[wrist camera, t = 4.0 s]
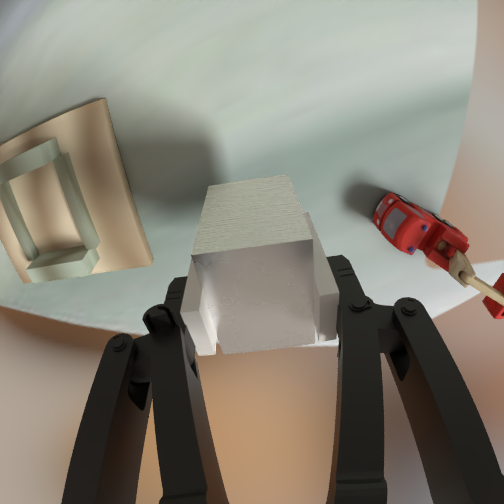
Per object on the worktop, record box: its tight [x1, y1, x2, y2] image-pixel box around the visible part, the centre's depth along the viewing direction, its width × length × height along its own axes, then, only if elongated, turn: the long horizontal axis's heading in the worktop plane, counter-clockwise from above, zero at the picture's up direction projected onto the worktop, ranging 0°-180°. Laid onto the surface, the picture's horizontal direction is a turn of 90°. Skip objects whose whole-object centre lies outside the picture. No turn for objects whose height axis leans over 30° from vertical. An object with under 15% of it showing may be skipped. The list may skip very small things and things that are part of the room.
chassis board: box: [0, 98, 153, 283], centre depth 21 cm, size 16×14×4 cm
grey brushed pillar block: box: [191, 174, 315, 354], centre depth 16 cm, size 4×6×7 cm
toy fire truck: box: [373, 193, 504, 319], centre depth 21 cm, size 3×14×10 cm, turn 69°
